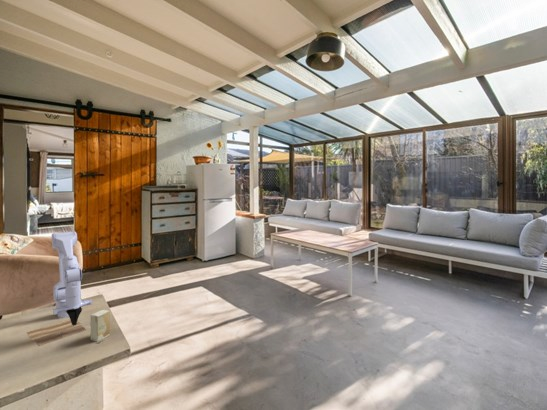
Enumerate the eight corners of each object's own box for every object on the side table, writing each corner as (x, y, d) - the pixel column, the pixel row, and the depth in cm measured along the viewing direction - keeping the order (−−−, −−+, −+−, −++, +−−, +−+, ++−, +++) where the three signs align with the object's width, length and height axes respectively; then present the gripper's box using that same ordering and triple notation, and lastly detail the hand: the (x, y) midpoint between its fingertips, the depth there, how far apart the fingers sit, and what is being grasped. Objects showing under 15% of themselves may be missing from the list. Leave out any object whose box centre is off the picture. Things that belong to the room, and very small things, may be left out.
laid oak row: (26, 334, 128) (26, 332, 128) (74, 320, 143) (74, 318, 142) (32, 342, 122) (31, 340, 122) (81, 326, 136) (81, 324, 136)
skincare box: (97, 344, 122) (97, 316, 121) (90, 342, 123) (89, 315, 123) (110, 336, 128) (110, 310, 127) (103, 335, 130) (102, 309, 129)
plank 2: (59, 334, 129) (59, 331, 129) (81, 327, 136) (81, 324, 136) (64, 339, 125) (64, 337, 125) (86, 332, 131) (86, 329, 131)
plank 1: (34, 342, 122) (34, 339, 122) (58, 334, 129) (58, 332, 129) (39, 348, 118) (38, 345, 118) (63, 340, 125) (63, 337, 125)
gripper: (56, 302, 120) (57, 333, 121) (94, 292, 131) (95, 321, 132) (51, 298, 124) (52, 328, 125) (89, 289, 135) (89, 316, 137)
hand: (74, 324), depth 129 cm, fingers closed
